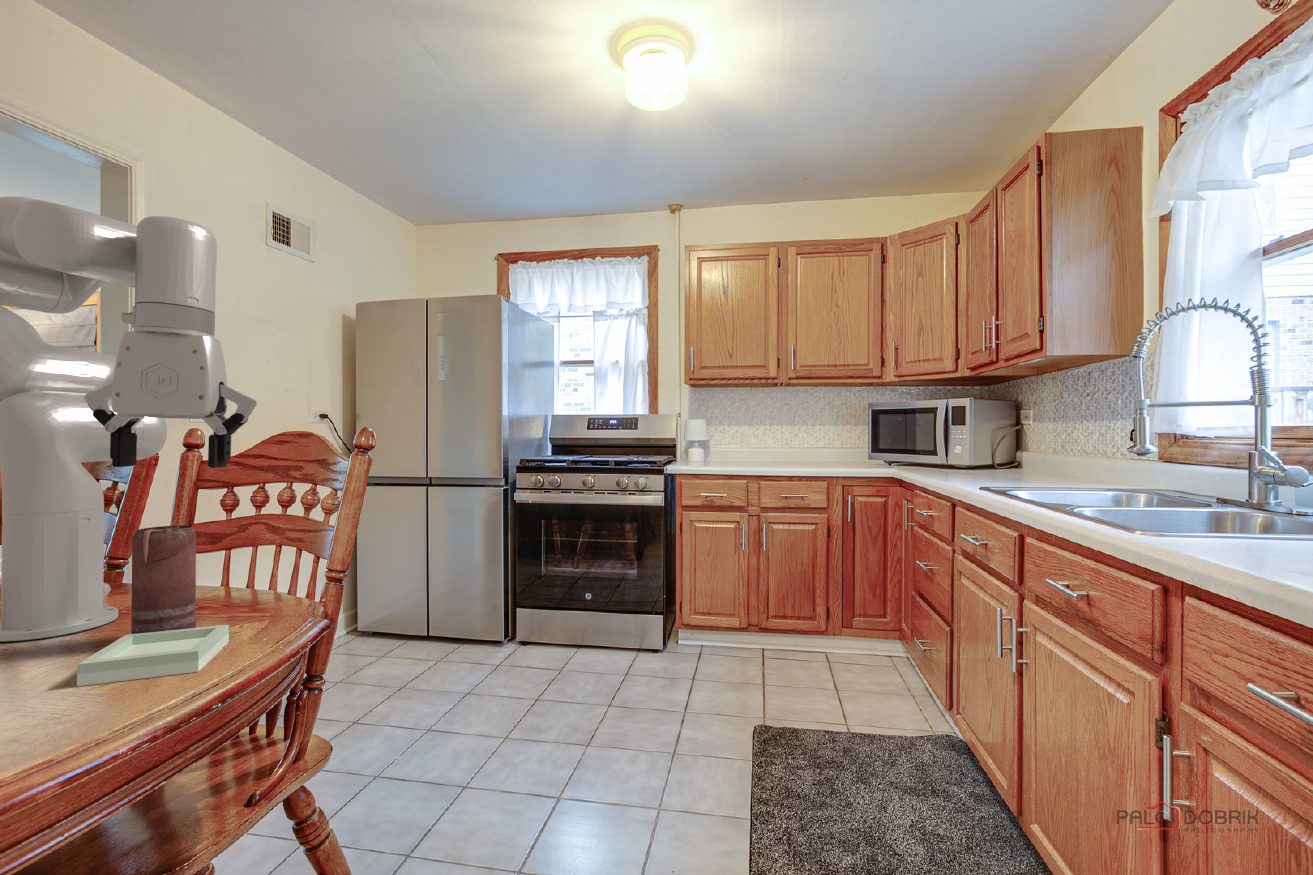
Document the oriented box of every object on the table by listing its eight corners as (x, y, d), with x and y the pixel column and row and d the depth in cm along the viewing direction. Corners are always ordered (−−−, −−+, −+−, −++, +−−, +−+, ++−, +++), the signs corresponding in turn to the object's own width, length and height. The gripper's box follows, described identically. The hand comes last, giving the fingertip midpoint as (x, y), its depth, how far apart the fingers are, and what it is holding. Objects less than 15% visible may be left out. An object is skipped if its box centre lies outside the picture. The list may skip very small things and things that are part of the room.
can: (118, 650, 69) (119, 532, 69) (149, 634, 75) (149, 525, 75) (179, 645, 70) (179, 529, 70) (204, 629, 76) (204, 523, 77)
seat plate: (125, 653, 68) (125, 634, 68) (228, 642, 71) (228, 624, 71) (77, 686, 58) (77, 664, 58) (198, 671, 62) (198, 650, 62)
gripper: (65, 313, 64) (61, 467, 64) (242, 324, 68) (238, 469, 68) (111, 326, 72) (107, 464, 72) (269, 335, 76) (265, 466, 76)
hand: (171, 466), depth 70 cm, fingers open, 9 cm apart
